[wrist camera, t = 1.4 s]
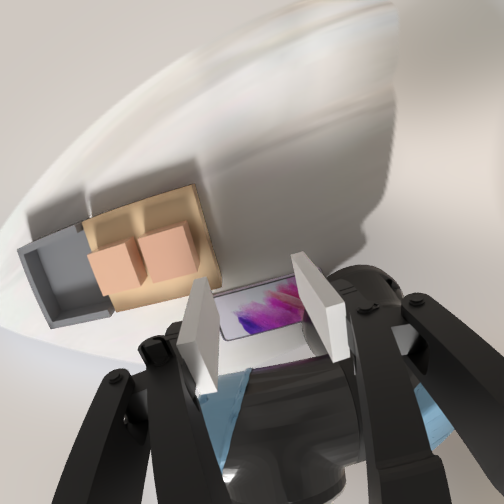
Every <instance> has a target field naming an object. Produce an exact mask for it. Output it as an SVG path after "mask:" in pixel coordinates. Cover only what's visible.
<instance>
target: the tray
mask: <svg viewBox="0 0 504 504" xmlns="http://www.w3.org/2000/svg"><path fill="white" fill-rule="evenodd" d="M86 220H87V219H86ZM84 221H85V220H84ZM82 222H83V221H81V222H79V223H76V224H74V225H71V226H69V227H66V228H64V229H61V230H59V231H56V232H54V233H51V234H49V235H47V236H44V237H42V238H40V239H37V240H35V241H33V242H31V243H29V244H27V245H25V246H23V247H21V248H19V249H17V252H18V255H19V258H20V260H21V263H22V266H23V268H24V271H25V274H26V276H27V279H28V281H29V283H30V286H31V288H32V291H33V293H34V295H35V297H36V300H37V302H38V304H39V306H40V308H41V310H42V313H43V315H44V317H45V319H46V321H47V323H48V325H49V327H50V329H54V328H59V327H64V326H69V325H74V324H79V323H84V322H89V321H93V320H98V319H103V318H108V317H111V316H112V314H113V313H114V311H115V308H114V306H113V304H112V301H111V299H110V297H109V295H106V296H103V294H102V292H101V290H100V287H99V285H98V283H97V280H96V278H95V275H94V273H93V270H92V267H91V265H90V262H89V259H88V257H87V255H88V254H89V253H91V252H92V251H91V248H90V246H89V243H88V240H87V237H86V234H85V231H84V228H83V225H82Z"/></svg>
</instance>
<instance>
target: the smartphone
mask: <svg viewBox="0 0 504 504" xmlns="http://www.w3.org/2000/svg"><path fill="white" fill-rule="evenodd" d="M317 268H318V270H319V271H320V272H321V273H322V270H321V269H320V268H319V267H317ZM213 298H214V301H215V304H216V307H217V310H218V312H219V315H220V329H219V331H220V333H221V336H222V338H223V340H225V341H232V340H236V339H240V338H244V337H248V336H252V335H256V334H260V333H264V332H267V331H271V330H275V329H279V328H282V327H286V326H289V325H293V324H296V323H300V322H302V321H303V314H304V310H305V307H304V305H303V303H302V301H301V299H300V297H299V293H298V288H297V283H296V278H295V273H292V274H289V275H285V276H282V277H278V278H274V279H271V280H267V281H263V282H260V283H256V284H252V285H249V286H245V287H241V288H237V289H234V290H230V291H226V292H222V293H218V294H215V295H213Z"/></svg>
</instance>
